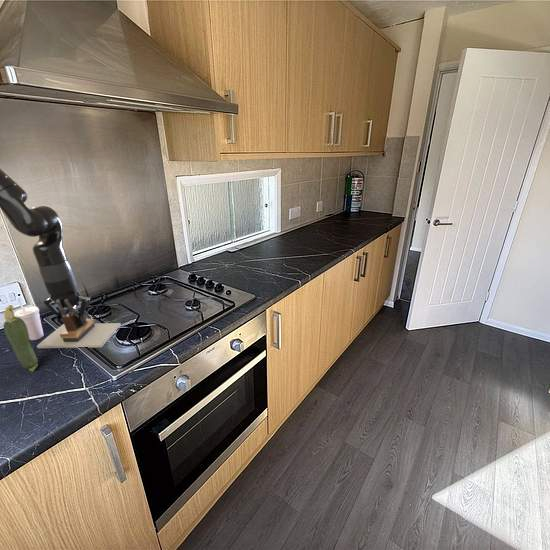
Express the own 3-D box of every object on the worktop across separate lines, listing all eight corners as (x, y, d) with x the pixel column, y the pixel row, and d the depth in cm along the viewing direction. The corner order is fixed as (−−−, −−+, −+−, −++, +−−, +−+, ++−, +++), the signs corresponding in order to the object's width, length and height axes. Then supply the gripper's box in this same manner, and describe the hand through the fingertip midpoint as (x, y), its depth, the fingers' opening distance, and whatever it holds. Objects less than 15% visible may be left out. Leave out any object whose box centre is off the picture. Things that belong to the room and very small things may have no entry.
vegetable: (19, 373, 79) (-12, 309, 71) (33, 362, 83) (5, 301, 75) (33, 374, 79) (4, 310, 71) (47, 363, 83) (20, 301, 75)
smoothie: (35, 331, 98) (19, 294, 93) (53, 331, 98) (38, 294, 92) (19, 342, 92) (1, 304, 87) (38, 342, 92) (21, 304, 86)
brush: (78, 342, 90) (70, 320, 87) (62, 342, 90) (53, 320, 87) (95, 325, 98) (88, 305, 95) (81, 326, 98) (73, 305, 95)
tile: (37, 348, 90) (36, 345, 89) (64, 326, 101) (63, 323, 100) (101, 347, 89) (100, 344, 88) (121, 325, 100) (120, 323, 99)
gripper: (89, 270, 89) (104, 319, 96) (45, 272, 90) (63, 320, 97) (73, 281, 82) (91, 332, 89) (25, 282, 83) (47, 333, 90)
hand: (76, 325), depth 93 cm, fingers closed on brush, 2 cm apart
